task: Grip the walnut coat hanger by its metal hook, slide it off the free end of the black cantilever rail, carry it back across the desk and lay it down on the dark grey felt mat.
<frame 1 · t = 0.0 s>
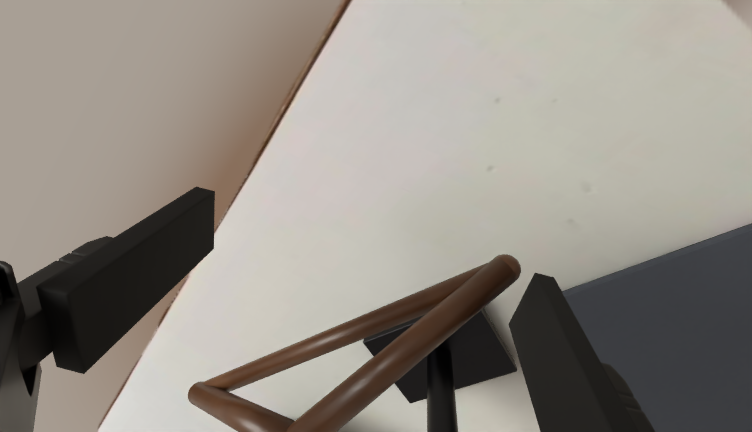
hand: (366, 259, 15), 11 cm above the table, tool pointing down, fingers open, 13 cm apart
felt mat: (675, 360, 28), on the table
rail stand: (438, 345, 31), on the table
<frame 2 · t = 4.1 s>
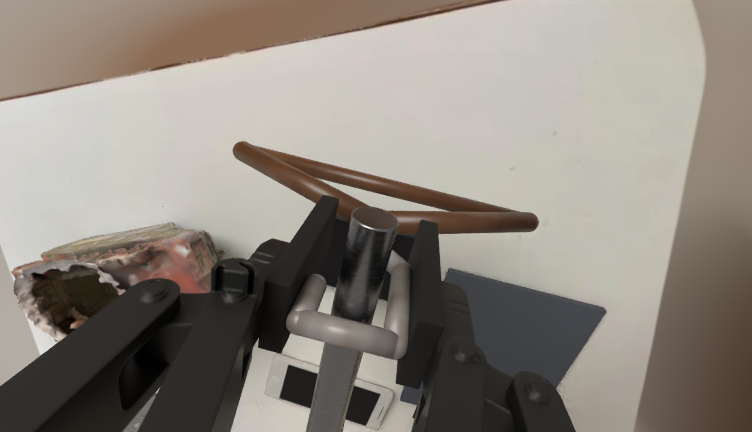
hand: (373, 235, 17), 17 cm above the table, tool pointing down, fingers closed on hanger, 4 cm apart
smartphone: (328, 388, 46), on the table
felt mat: (490, 357, 41), on the table
electronic device: (161, 397, 52), on the table
decorative box: (163, 238, 39), on the table
hanger: (355, 301, 12), point 22 cm above the table, touching gripper, rail stand
rail stand: (369, 256, 37), on the table
when the fingers open (7 cm above the table, at t = 16.7 s): hanger drops 11 cm and tips over, resting on felt mat.
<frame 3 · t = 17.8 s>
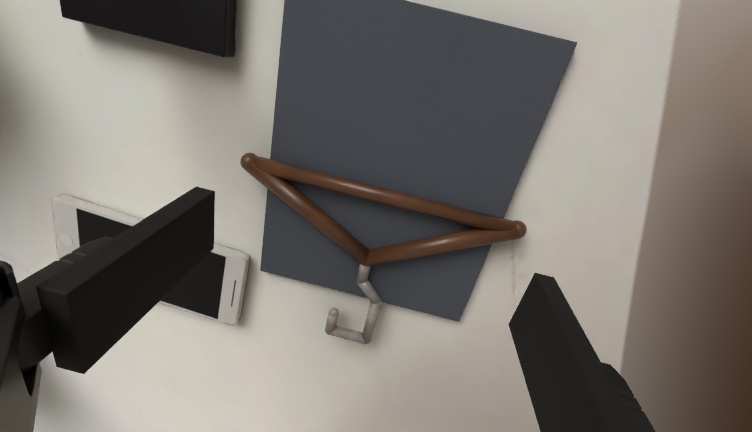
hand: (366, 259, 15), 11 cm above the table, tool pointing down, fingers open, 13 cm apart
smartphone: (156, 258, 30), on the table
felt mat: (389, 175, 24), on the table
hanger: (351, 320, 28), point 1 cm above the table, tilted 90°, touching felt mat
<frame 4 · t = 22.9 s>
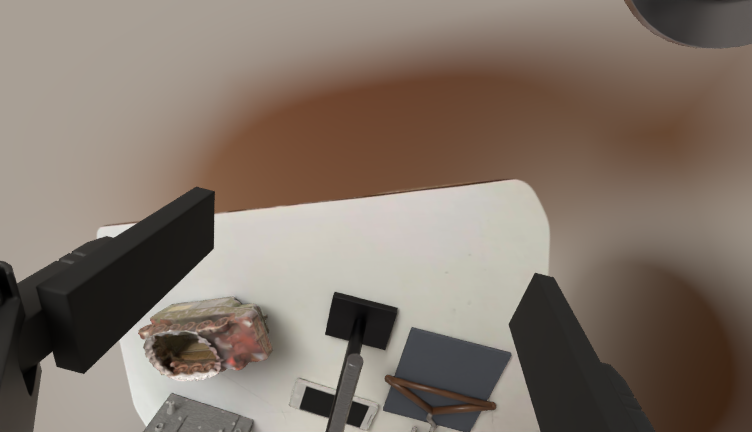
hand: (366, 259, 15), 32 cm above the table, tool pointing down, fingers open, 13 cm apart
smartphone: (333, 402, 67), on the table
felt mat: (442, 382, 61), on the table
electronic device: (213, 407, 72), on the table
decorative box: (225, 304, 60), on the table
rail stand: (361, 318, 57), on the table
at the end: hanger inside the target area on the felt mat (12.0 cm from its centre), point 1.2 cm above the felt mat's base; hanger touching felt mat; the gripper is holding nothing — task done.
